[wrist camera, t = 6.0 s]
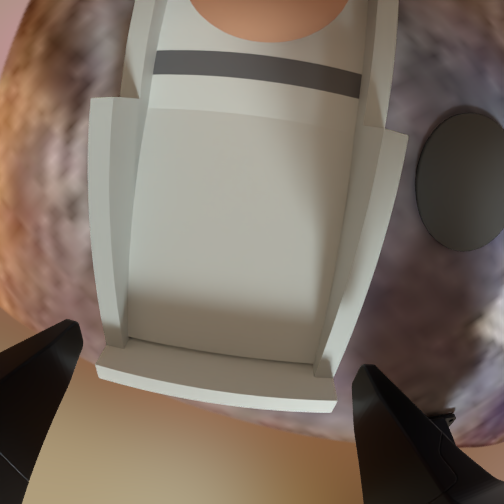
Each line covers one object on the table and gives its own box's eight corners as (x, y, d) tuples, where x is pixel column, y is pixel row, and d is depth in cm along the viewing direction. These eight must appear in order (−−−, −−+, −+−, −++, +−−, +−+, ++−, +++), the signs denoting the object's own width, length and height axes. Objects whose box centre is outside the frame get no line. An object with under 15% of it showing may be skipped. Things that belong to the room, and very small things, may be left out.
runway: (315, 326, 16) (331, 412, 10) (141, 302, 15) (99, 377, 10) (379, -29, 8) (432, -84, 3) (173, -52, 8) (129, -114, 3)
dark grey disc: (494, 256, 13) (497, 259, 13) (399, 237, 13) (401, 240, 13) (525, 140, 10) (528, 141, 10) (430, 92, 10) (433, 92, 10)
